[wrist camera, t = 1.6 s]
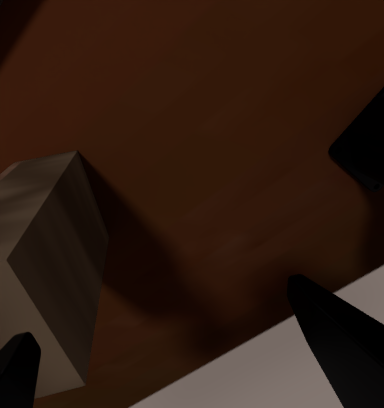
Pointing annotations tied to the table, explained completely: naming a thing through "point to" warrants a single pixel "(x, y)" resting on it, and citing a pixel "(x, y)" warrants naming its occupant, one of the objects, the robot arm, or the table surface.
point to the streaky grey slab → (51, 264)
